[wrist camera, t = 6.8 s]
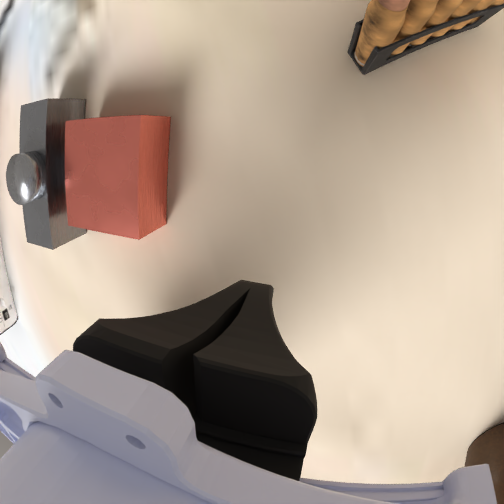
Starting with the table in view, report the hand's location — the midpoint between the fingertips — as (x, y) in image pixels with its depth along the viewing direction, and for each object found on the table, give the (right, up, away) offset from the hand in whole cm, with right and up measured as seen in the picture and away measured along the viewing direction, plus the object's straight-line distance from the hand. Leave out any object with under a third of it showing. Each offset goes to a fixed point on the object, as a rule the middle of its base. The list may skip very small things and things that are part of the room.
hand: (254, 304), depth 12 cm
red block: (-10, +9, +10) cm, 16 cm away
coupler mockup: (-13, +9, +10) cm, 19 cm away
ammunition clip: (+11, +16, +1) cm, 19 cm away
